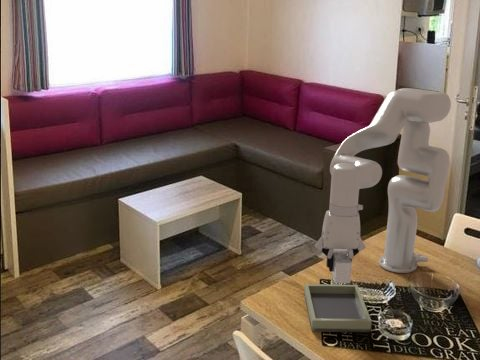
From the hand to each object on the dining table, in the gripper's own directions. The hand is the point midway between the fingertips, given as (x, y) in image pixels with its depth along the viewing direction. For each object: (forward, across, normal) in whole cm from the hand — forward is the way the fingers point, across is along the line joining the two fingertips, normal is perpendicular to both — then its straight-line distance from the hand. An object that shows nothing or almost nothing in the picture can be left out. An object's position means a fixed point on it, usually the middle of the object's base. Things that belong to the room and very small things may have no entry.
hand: (338, 268), depth 161 cm
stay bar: (+1, 0, 0) cm, 1 cm away
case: (+14, 0, 0) cm, 14 cm away
